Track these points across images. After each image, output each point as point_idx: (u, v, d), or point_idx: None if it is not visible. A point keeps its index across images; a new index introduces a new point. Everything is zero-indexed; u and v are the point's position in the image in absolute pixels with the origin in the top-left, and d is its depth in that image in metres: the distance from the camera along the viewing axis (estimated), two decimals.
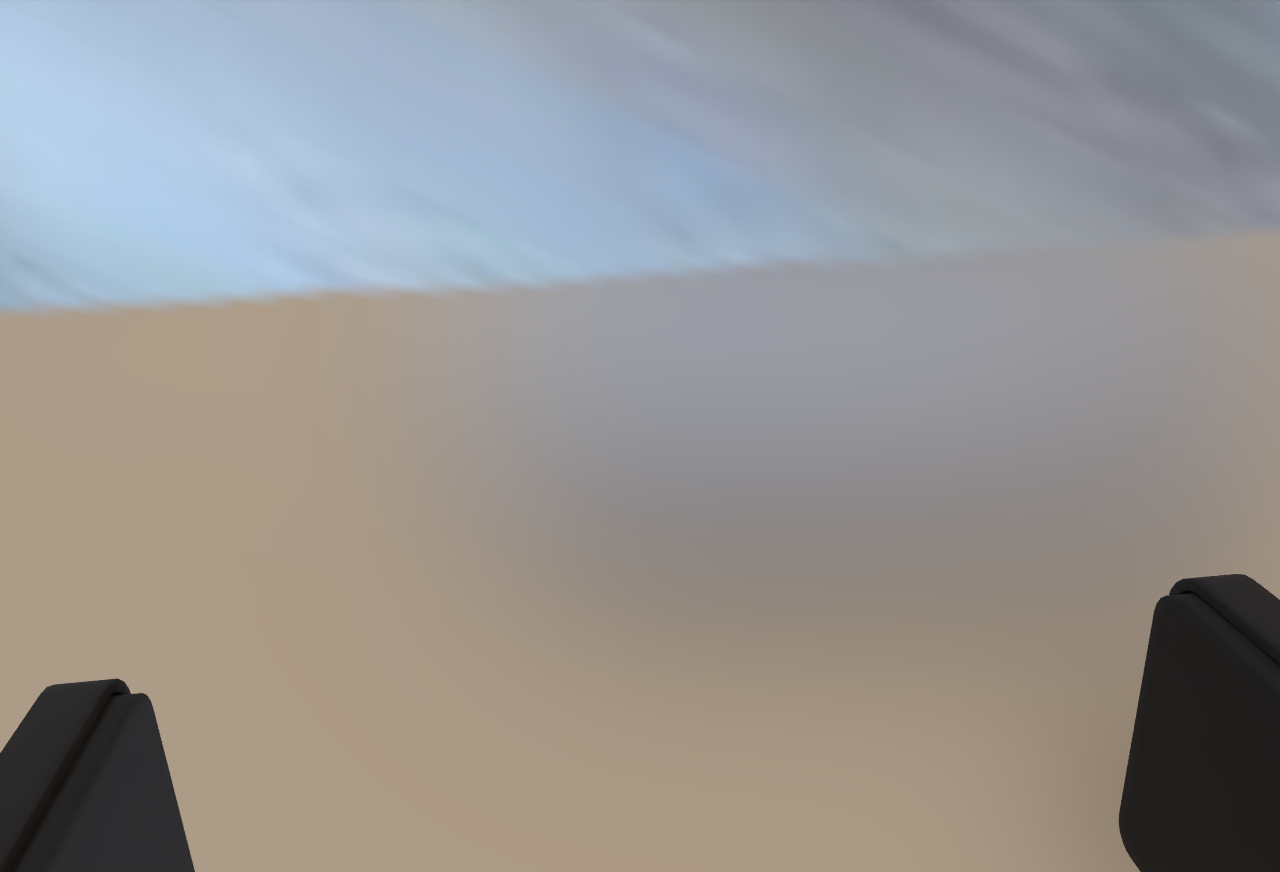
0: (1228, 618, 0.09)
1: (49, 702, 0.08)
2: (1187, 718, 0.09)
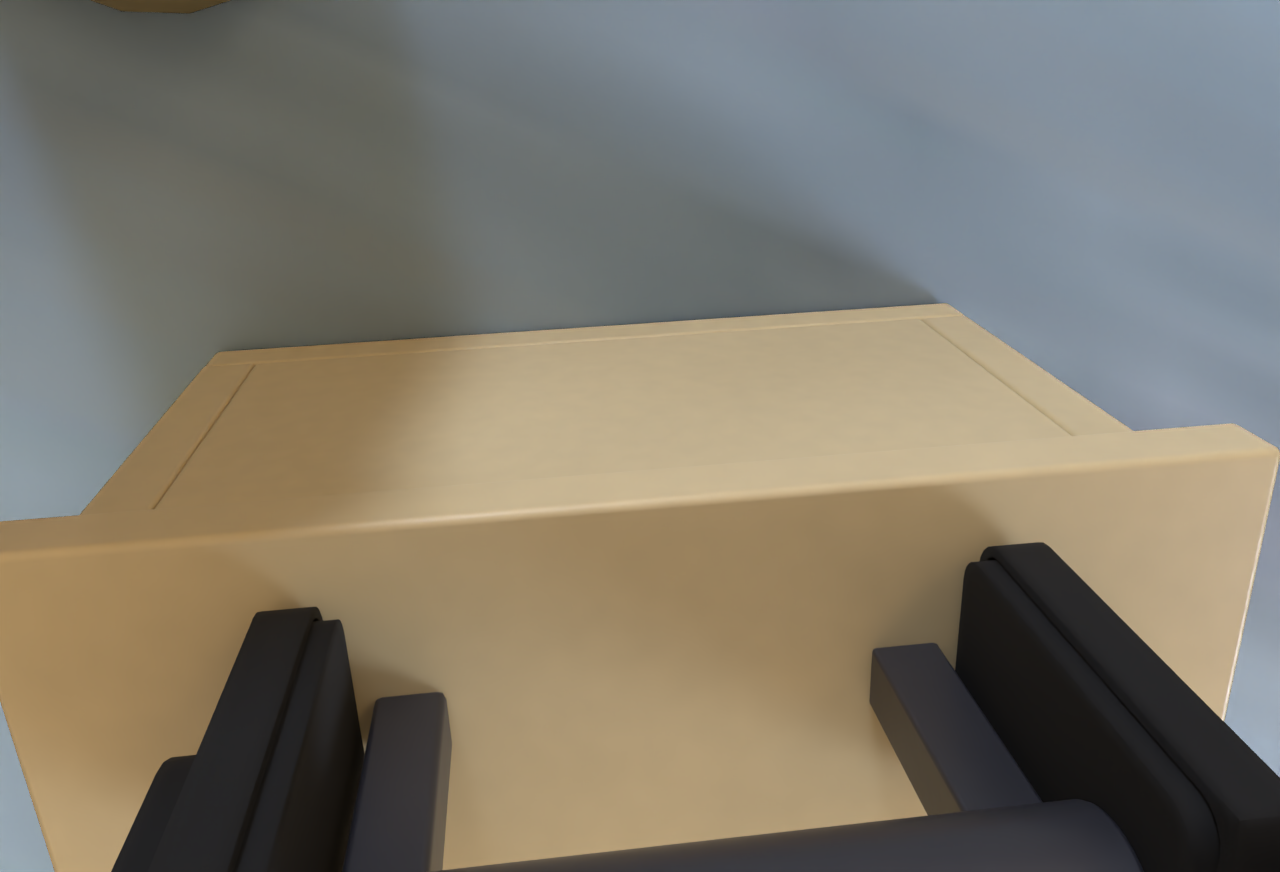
0: (1021, 582, 0.10)
1: (265, 624, 0.09)
2: (986, 675, 0.10)
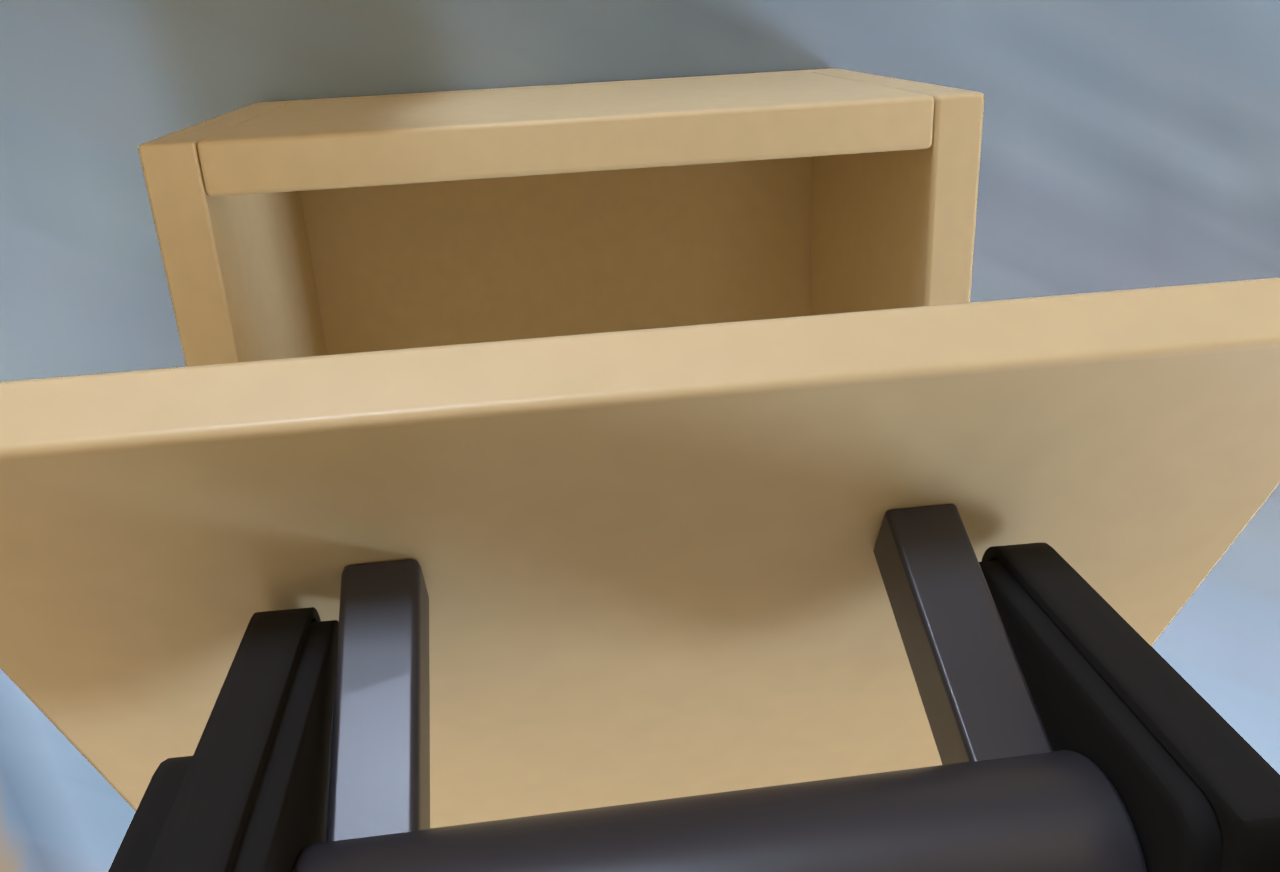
0: (1022, 582, 0.10)
1: (262, 625, 0.09)
2: None
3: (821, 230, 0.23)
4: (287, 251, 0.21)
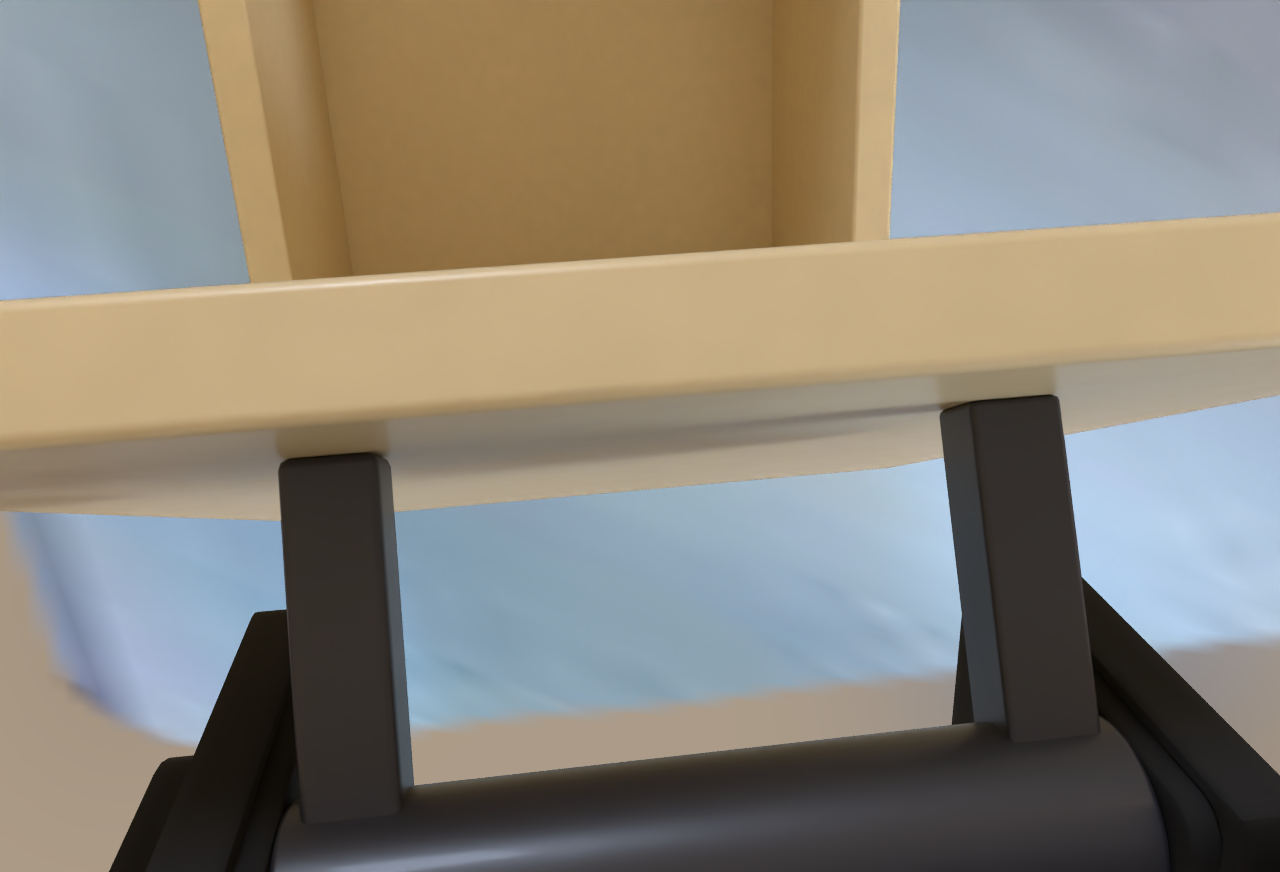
0: None
1: (263, 624, 0.09)
2: None
3: None
4: None
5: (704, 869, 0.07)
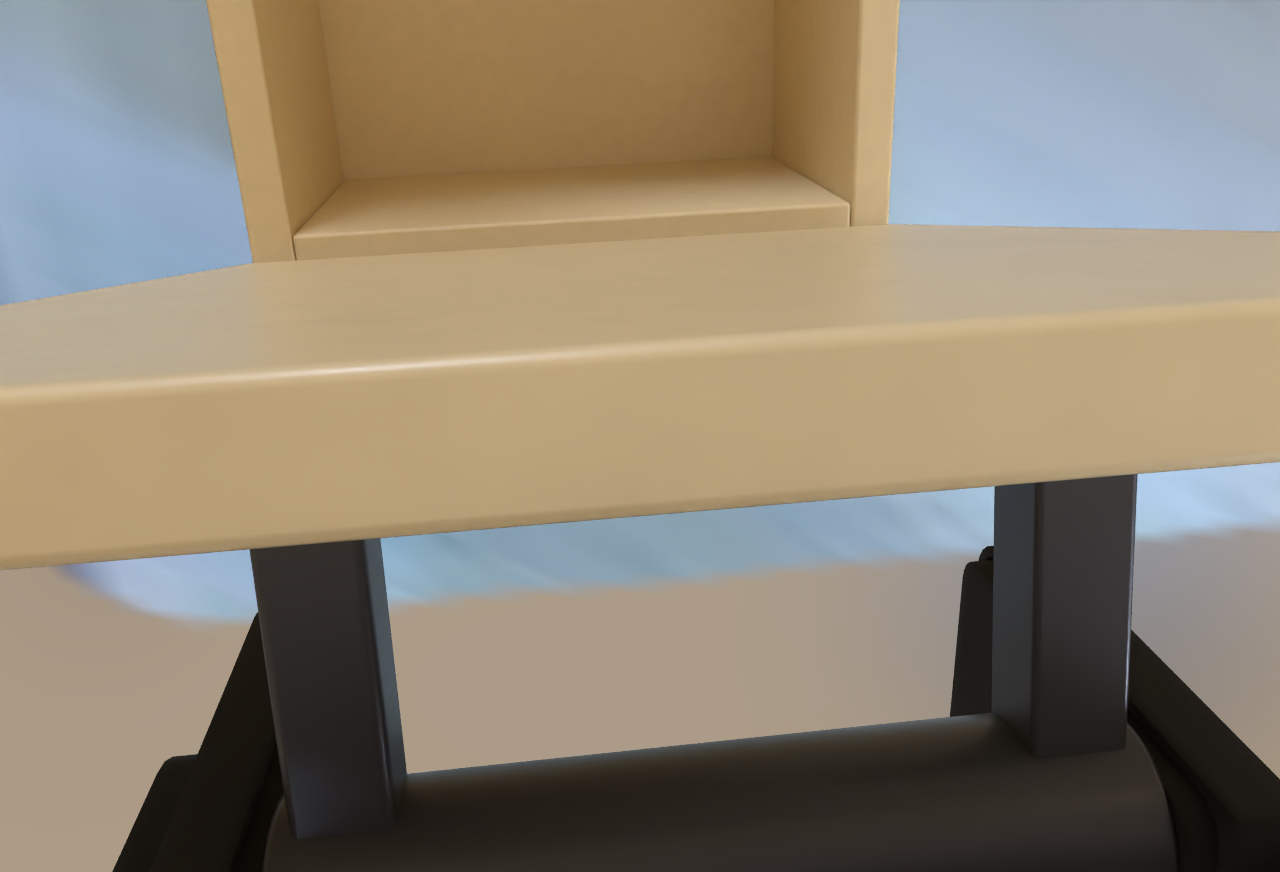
0: None
1: None
2: (985, 675, 0.10)
3: None
4: None
5: None
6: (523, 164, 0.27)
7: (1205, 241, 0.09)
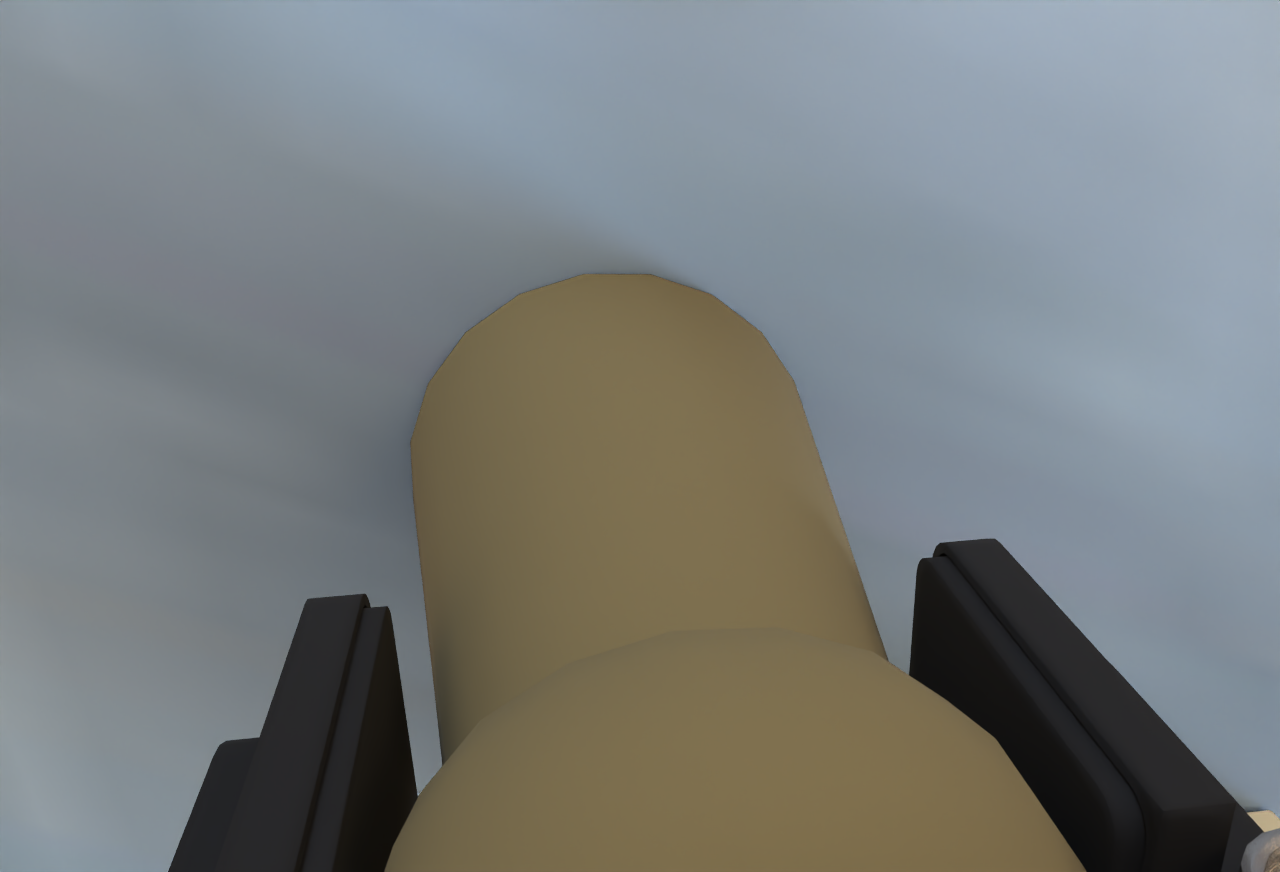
0: (971, 578, 0.10)
1: (316, 610, 0.09)
2: (938, 670, 0.10)
3: None
4: None
5: None
6: None
7: None
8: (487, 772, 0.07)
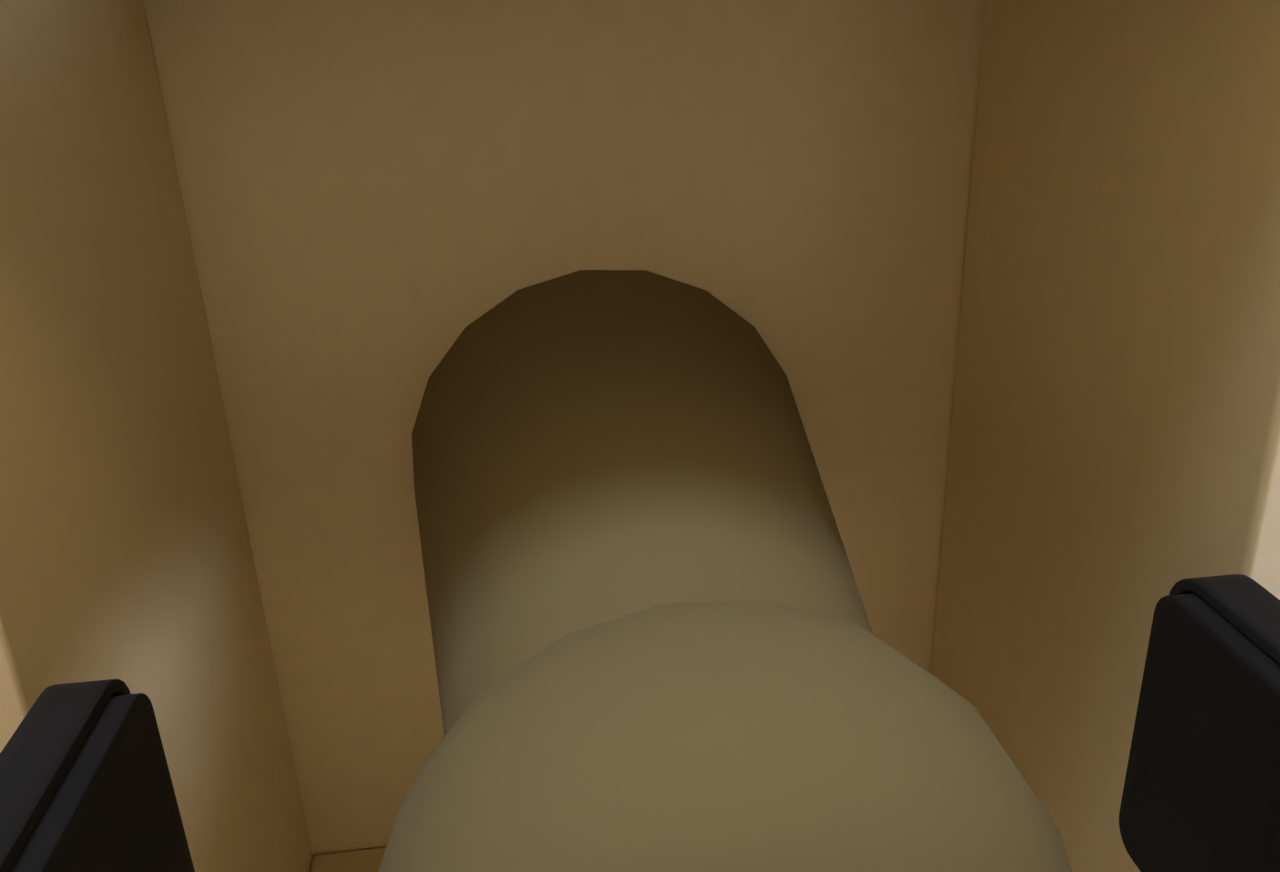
0: (1228, 620, 0.09)
1: (50, 702, 0.08)
2: (1187, 718, 0.09)
3: (997, 147, 0.14)
4: (112, 153, 0.12)
5: None
6: None
7: None
8: (490, 735, 0.07)
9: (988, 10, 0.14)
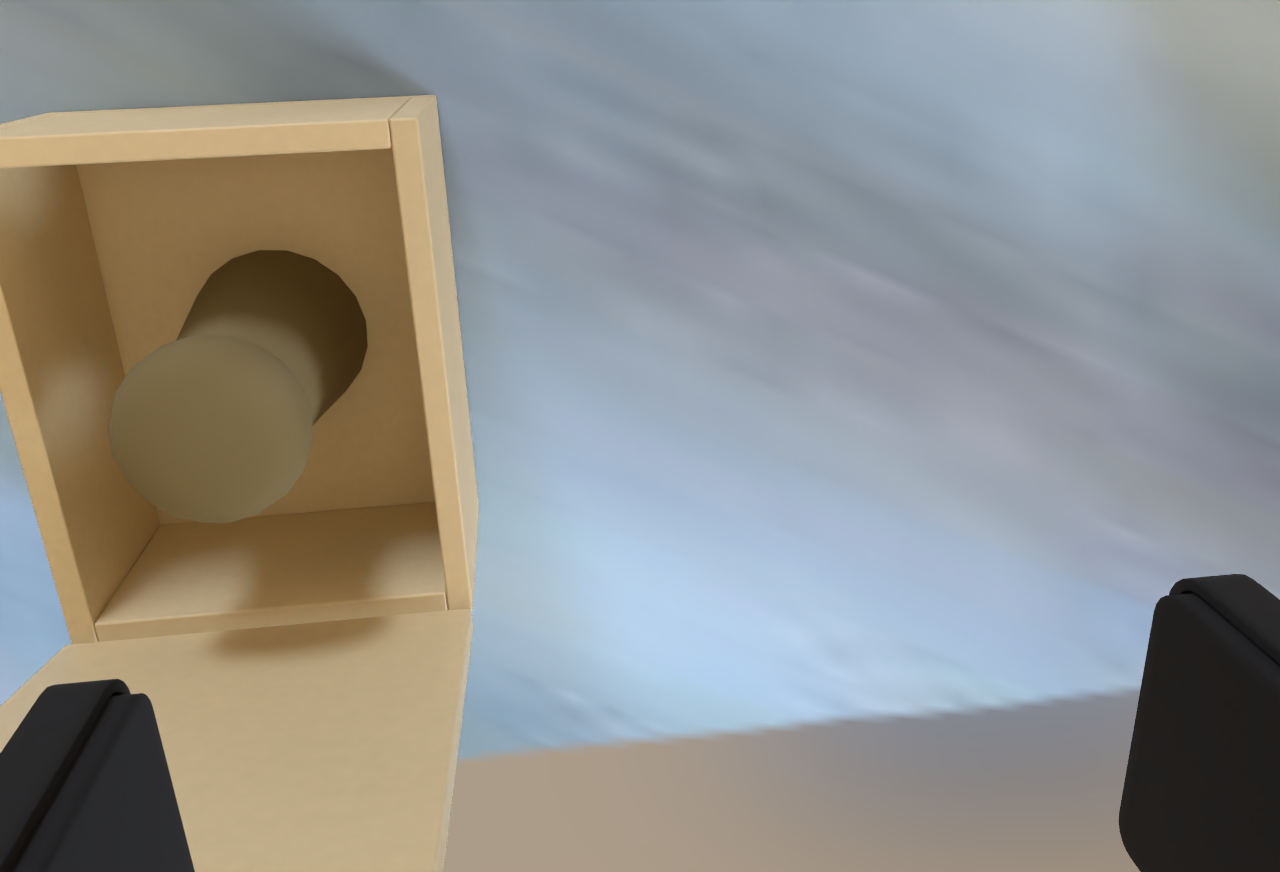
0: (1228, 620, 0.09)
1: (49, 702, 0.08)
2: (1187, 718, 0.09)
3: None
4: (57, 206, 0.33)
5: None
6: (282, 511, 0.40)
7: (380, 817, 0.23)
8: (141, 360, 0.28)
9: None
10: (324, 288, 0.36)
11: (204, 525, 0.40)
